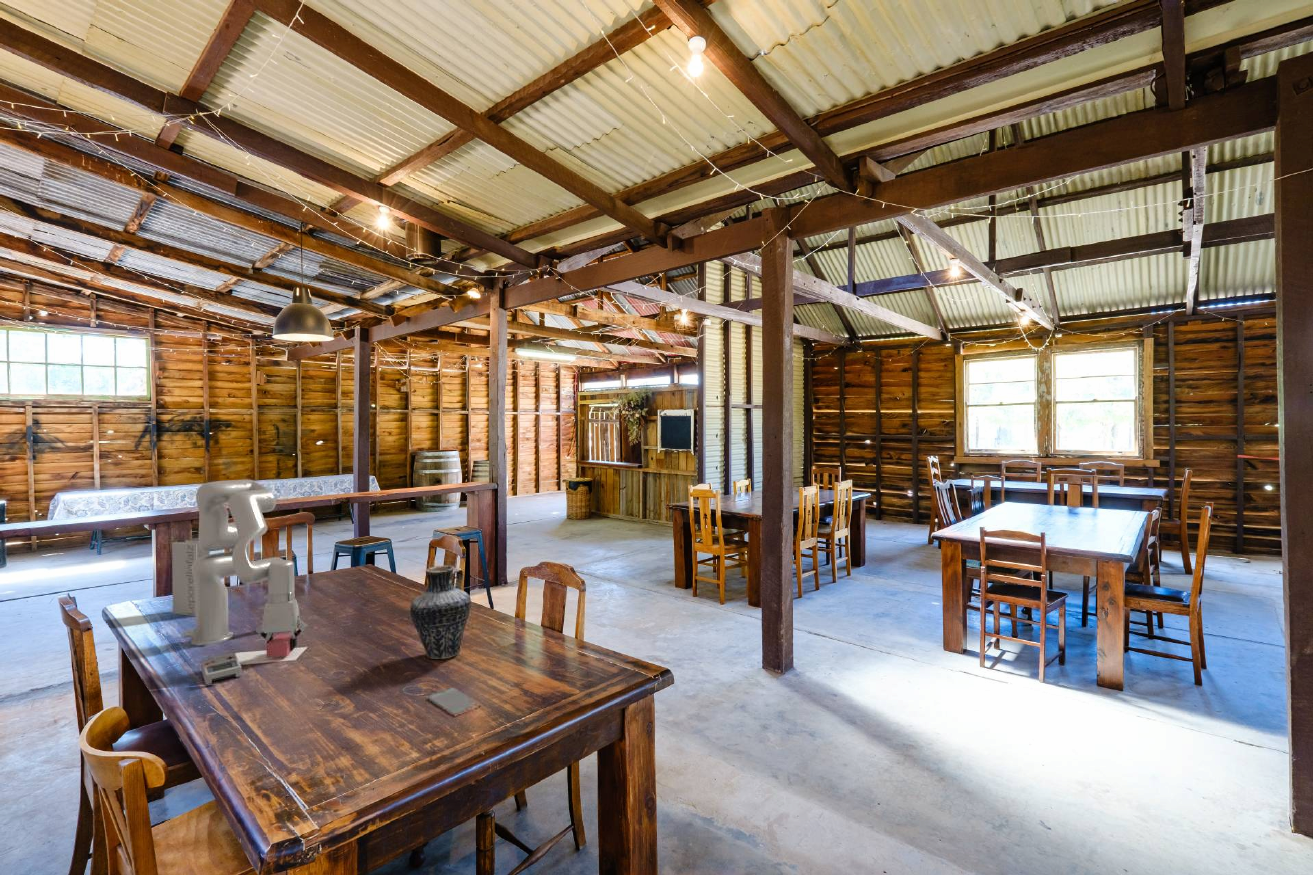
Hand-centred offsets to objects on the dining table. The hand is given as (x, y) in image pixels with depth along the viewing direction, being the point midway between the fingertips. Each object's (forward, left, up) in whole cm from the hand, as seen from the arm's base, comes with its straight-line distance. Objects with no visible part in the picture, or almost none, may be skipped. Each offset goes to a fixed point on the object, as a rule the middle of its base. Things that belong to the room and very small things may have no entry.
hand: (281, 649), depth 198 cm
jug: (+53, -12, -3) cm, 54 cm away
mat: (-5, 0, -2) cm, 6 cm away
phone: (+60, -50, -3) cm, 79 cm away
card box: (0, 0, -1) cm, 1 cm away
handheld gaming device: (-13, -13, -2) cm, 18 cm away
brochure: (-56, +64, -3) cm, 85 cm away
